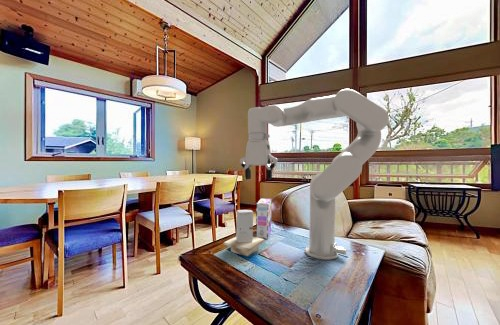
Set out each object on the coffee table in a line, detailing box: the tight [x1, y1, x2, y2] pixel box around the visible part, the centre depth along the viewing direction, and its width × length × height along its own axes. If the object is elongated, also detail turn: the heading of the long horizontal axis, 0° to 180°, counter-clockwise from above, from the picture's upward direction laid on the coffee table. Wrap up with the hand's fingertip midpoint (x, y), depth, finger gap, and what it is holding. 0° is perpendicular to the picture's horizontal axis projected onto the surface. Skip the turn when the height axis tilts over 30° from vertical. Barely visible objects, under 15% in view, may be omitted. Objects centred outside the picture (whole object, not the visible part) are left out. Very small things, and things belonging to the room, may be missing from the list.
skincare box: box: [235, 209, 254, 243], centre depth 96 cm, size 6×4×12 cm
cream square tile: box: [223, 235, 266, 257], centre depth 97 cm, size 12×12×4 cm
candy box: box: [255, 198, 272, 240], centre depth 117 cm, size 14×6×16 cm, turn 168°
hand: (258, 179), depth 100 cm, fingers open, 9 cm apart
